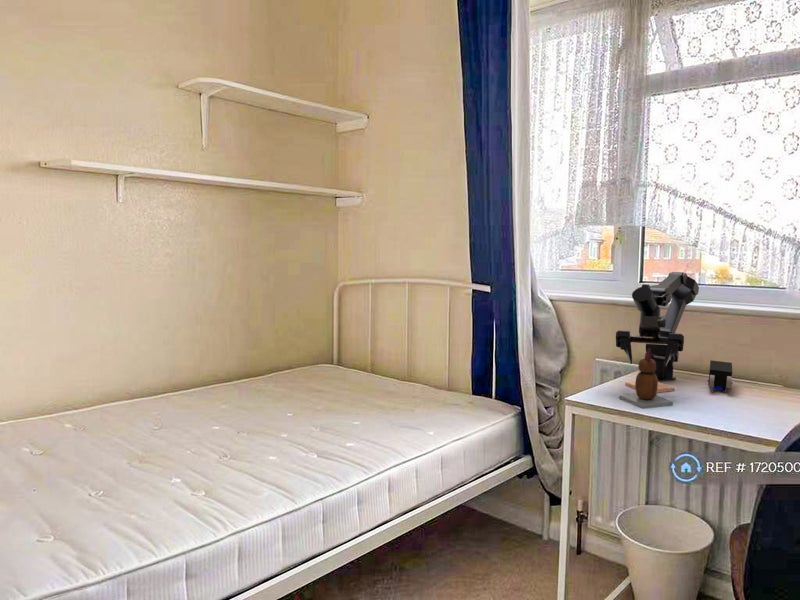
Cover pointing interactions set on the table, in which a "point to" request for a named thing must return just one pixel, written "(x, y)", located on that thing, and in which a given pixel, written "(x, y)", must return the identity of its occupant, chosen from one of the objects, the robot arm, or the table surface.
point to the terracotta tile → (660, 387)
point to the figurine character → (720, 375)
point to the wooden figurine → (646, 378)
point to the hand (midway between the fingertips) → (648, 364)
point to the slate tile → (646, 401)
